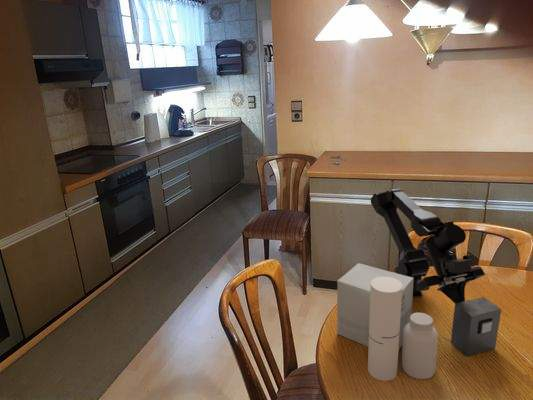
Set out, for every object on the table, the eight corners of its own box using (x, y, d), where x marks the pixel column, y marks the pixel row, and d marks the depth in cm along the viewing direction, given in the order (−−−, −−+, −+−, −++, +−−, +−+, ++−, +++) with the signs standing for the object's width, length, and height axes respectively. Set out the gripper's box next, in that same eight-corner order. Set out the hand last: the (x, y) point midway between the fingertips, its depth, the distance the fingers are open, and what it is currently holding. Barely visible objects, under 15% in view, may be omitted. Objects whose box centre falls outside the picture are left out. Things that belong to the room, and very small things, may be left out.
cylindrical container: (398, 382, 96) (404, 293, 88) (368, 379, 98) (371, 291, 90) (395, 361, 103) (400, 277, 95) (367, 359, 104) (369, 275, 96)
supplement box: (411, 332, 114) (415, 277, 108) (393, 359, 104) (396, 299, 98) (357, 312, 124) (358, 261, 119) (335, 334, 115) (335, 280, 109)
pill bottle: (407, 353, 106) (411, 305, 101) (439, 366, 101) (444, 316, 96) (396, 371, 100) (399, 321, 95) (428, 385, 95) (433, 333, 90)
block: (450, 342, 109) (455, 303, 105) (478, 335, 111) (483, 297, 107) (466, 356, 103) (471, 316, 99) (495, 349, 105) (501, 309, 101)
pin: (454, 319, 109) (456, 303, 107) (470, 316, 110) (472, 299, 108) (477, 338, 101) (479, 321, 99) (494, 333, 102) (496, 316, 101)
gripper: (426, 251, 106) (450, 309, 99) (484, 240, 110) (511, 295, 104) (407, 264, 116) (428, 317, 109) (461, 254, 120) (484, 304, 113)
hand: (463, 309), depth 109 cm, fingers closed, pressing on pin
